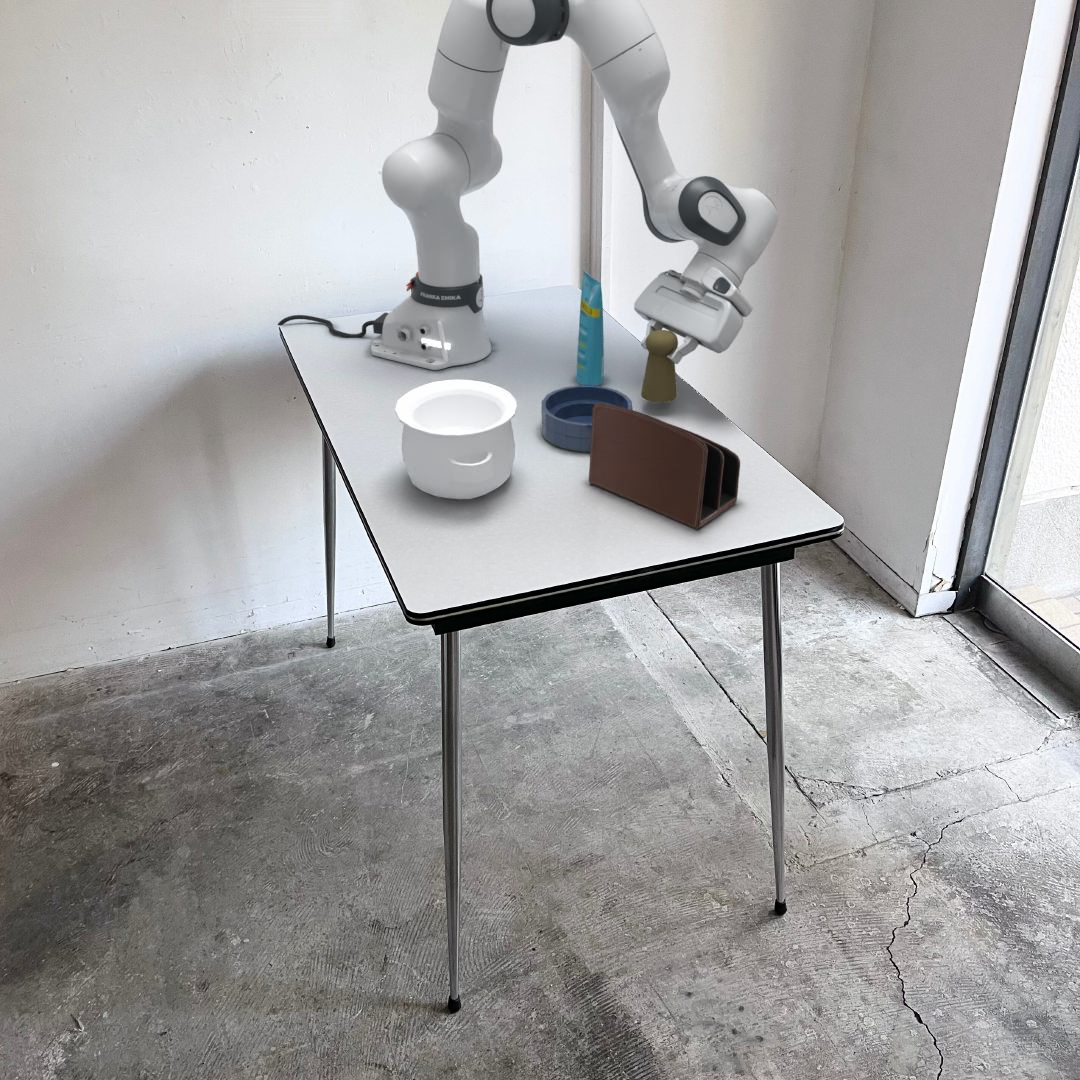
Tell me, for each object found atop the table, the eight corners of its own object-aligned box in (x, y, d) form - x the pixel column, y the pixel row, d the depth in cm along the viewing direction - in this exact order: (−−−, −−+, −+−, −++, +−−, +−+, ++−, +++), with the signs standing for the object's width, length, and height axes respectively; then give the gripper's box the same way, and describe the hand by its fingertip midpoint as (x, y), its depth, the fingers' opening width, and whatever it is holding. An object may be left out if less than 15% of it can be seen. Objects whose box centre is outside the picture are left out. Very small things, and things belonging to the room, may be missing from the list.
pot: (541, 504, 157) (541, 428, 150) (425, 528, 151) (420, 450, 145) (490, 438, 174) (488, 367, 167) (385, 458, 168) (378, 386, 162)
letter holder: (697, 531, 150) (705, 440, 143) (587, 483, 162) (589, 397, 154) (737, 503, 157) (747, 414, 149) (628, 459, 168) (632, 375, 160)
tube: (568, 375, 194) (569, 270, 183) (592, 370, 196) (594, 266, 185) (588, 391, 188) (590, 284, 178) (612, 386, 190) (616, 279, 180)
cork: (675, 404, 178) (679, 341, 172) (638, 401, 179) (641, 338, 173) (679, 388, 183) (683, 327, 177) (643, 386, 184) (646, 324, 178)
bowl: (529, 445, 172) (529, 417, 169) (557, 407, 183) (557, 380, 180) (617, 459, 168) (618, 430, 165) (640, 419, 179) (642, 391, 177)
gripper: (655, 256, 181) (608, 325, 182) (742, 291, 167) (690, 365, 168) (674, 277, 186) (628, 344, 186) (760, 312, 172) (710, 384, 172)
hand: (658, 354), depth 177 cm, fingers closed on cork, 5 cm apart
